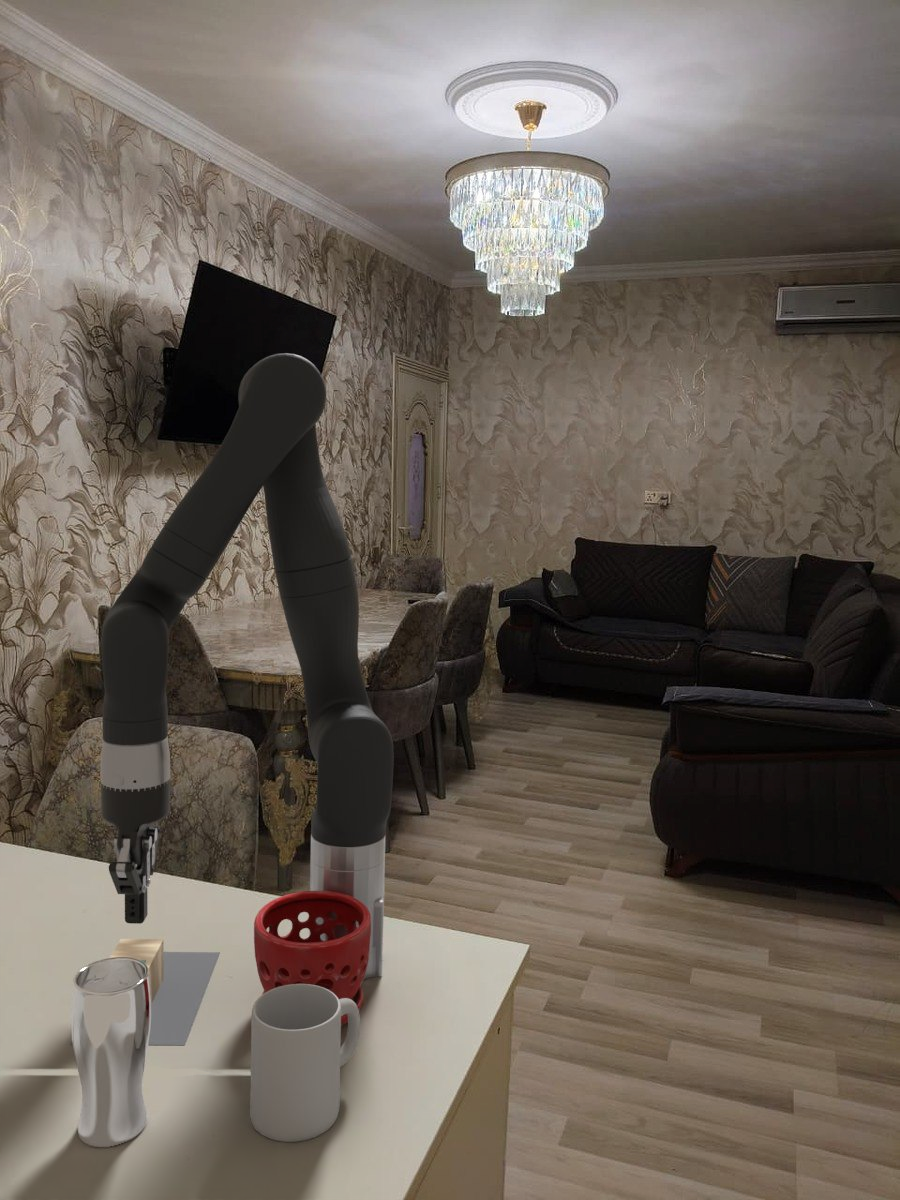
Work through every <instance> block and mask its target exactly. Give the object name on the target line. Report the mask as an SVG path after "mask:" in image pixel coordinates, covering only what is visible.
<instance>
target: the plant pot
mask: <svg viewBox="0 0 900 1200" xmlns="http://www.w3.org/2000/svg"><path fill="white" fill-rule="evenodd" d="M331 912H334V913H336V914H337V919H332V918H331V916H330V913H331ZM302 913H306V914H307V915H308V918H307V919H306V920H305V921H300V920H299V915H301V914H302ZM319 917H321V918H322V919H323V920H324V922H323V924H317V923H316V919H317V918H319ZM284 920H288V921H290V922H291V929H290V931H289V933H288V934H286V935H283V936H282V935H279V926H280V923H281V922H282V921H284ZM356 921H357V922H358V924H359V927H358V928H357V927H356ZM338 925H342V926H344V927H345V928H346V929H347V932H348V935H346V936H344V937H341V938H338V939H337V938H336V937H335V934H334V931H335V928H336V926H338ZM304 929H308V930H310V936H309V935H308V937H306V938H302V937H301V935H300V934H301V931H302V930H304ZM324 933H325V934H327V936H328V940H327V941H322V940H321V938H320V935H321V934H324ZM370 936H371V916H370V912H369V910H368V908H367V907H366V906H365V905H364V904H363V903H362V902H360V901H359V900H357V899H356V898H354V897H352V896H349V895H346V894H342V893H338V892H331V891H310V890H307V891H306V890H304V891H299V892H293V893H288V894H285V895H283V896H280V897H277V898H274V899H273V900H271V901H269V902H268V903H265V905H264V906H262V907H261V908H260V909H259V911H258V912H257V914H256V915H255V918H254V923H253V943H254V958H255V962H256V963H255V964H256V968H257V974H258V978H259V981H260V984H261V986H262V989H263V991H262V994H261V995H263V994H264V993H266V992H267V991H269V990H272V989H274V988H277V987H280V986H285V985H291V984H310V985H316V986H320V987H323V988H326V989H328V990H330V991H331V992H333V993H334V994H335V995H336V996H337V997H338V999H342V998H348V999H351V1000H353V1001H354V1002H355V1003H356V1005H357V1008H358V1010H359V1011H360V1010H361V1007H362V1005H363V1001H364V991H363V988H362V986H361V985H362V983H363V981H364V980H363V978H364V976H365V972H366V969H367V965H368V960H369V951H370ZM346 1023H347V1024H348V1016H347V1014H344V1015H343V1016H341V1027H342V1026H343V1025H346Z"/></svg>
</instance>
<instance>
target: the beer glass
mask: <svg viewBox="0 0 900 1200" xmlns="http://www.w3.org/2000/svg"><path fill="white" fill-rule="evenodd" d="M72 980H73V981H72V985H73V988H72V997H71V1012H70V1013H71V1014H70V1015H71V1017H70V1022H71V1023H70V1025H71V1041H72V1042H73V1045H72V1048H73V1053H74V1058H75V1063H76V1068H77V1072H78V1076H79V1081H80V1082H79V1083H80V1086H81V1108H80V1112H79V1119H78V1125H77V1133H78V1137H79V1139H80V1140H81V1141H82V1142H83V1143H85V1144H86V1145H87V1146H90V1147H95V1148H111V1147H110V1146H112V1147H115V1146H114V1145H117V1146H119V1145H118V1144H120V1145H122V1144H121V1143H123V1144H125V1143H124V1142H126V1143H128V1142H130V1141H131V1140H133V1139H135V1138H136V1137H137V1136H138V1135H139V1134H140V1133H141V1132H142V1131H143V1130H144V1128H145V1127H146V1123H147V1119H148V1117H147V1109H146V1108H147V1107H146V1104H145V1100H144V1094H143V1078H144V1070H145V1065H146V1059H147V1055H148V1051H149V1050H148V1048H149V1045H148V1044H149V1038H150V1030H151V994H150V983H149V969H148V966H147V965H146V964H145V963H144V962H142V961H140V960H137V959H133V958H127V957H115V958H110V957H108V958H104V959H100V960H96V961H93V962H90V963H88V964H87V965H84V966H83V967H82V968H80V969H78V971H77V972H76V973H75V975H74V977H73V979H72ZM129 1140H130V1141H129ZM127 1141H128V1142H127Z"/></svg>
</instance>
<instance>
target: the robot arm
mask: <svg viewBox="0 0 900 1200" xmlns="http://www.w3.org/2000/svg"><path fill="white" fill-rule="evenodd" d="M326 389H327V388H326V384H325V381H324V378H323V376H322V374H321V372H320V371H319V369H318V368H317V367H316V365H315V364H314V363H312V362H311V361H310V360H309V359H307V358H306V357H303V356H302V355H298V354H295V353H287V352H285V353H274V354H272V355H268V356H266V357H264V358H262V359H261V360H259V361H258V362H256V363H255V364H254V365H253V366H252V367H250V368H249V369H248V370H247V372H246V373H245V374H244V375H243V378H242V379H241V381H240V384H239V388H238V397H237V398H238V399H237V400H238V406H239V407H238V409H237V411H236V414H235V416H234V418H233V420H232V423H231V425H230V428H229V430H228V432H227V434H226V435H225V437H224V439H223V441H222V443H221V444H220V445H219V447H218V449H217V451H216V452H215V453H214V455H213V457H212V458H211V460H210V462H209V463H208V464H207V466H206V468H205V469H203V471H202V473H201V474H200V475H199V476H198V478H197V480H195V482H194V483H193V484H192V485H191V487H190V488H189V490H188V491H187V492H186V494H185V495H184V496H183V498H182V499H181V500H180V502H179V503H178V504H177V506H176V507H175V508H174V510H173V511H172V513H171V514H170V515H169V517H168V519H167V520H166V522H165V524H164V525H163V527H162V529H161V530H160V532H159V534H158V535H157V537H156V538H155V539H154V541H153V543H152V544H151V546H150V547H149V550H148V551H147V553H146V555H145V557H144V559H143V561H142V563H141V565H140V567H139V569H138V570H137V572H136V573H135V574H134V575H133V577H132V578H131V579H130V581H129V582H128V583H127V585H126V586H125V588H124V589H123V590H122V592H121V593H120V594H119V596H118V597H117V599H116V600H115V601H114V602H113V604H112V606H111V607H110V609H109V610H108V613H107V614H106V615H105V618H104V620H103V624H102V628H101V640H100V641H101V643H100V644H101V657H102V658H101V660H102V673H103V688H104V697H103V704H102V747H101V753H100V816H101V818H102V819H103V820H104V821H105V822H106V823H107V824H112V825H114V826H115V827H117V829H118V831H117V835H114V839H113V850H114V852H115V854H116V861H110V862H109V866H108V871H109V875H110V877H111V880H112V882H113V885H114V888H115V890H116V893H117V895H124V921H125V922H126V923H127V924H143V923H144V922H145V920H146V918H147V916H148V915H149V914H148V887H149V886H150V884H151V876H153V875H154V873H155V865H156V859H157V852H158V845H159V840H160V835H161V834H160V833H161V825H155V823H157V822H159V821H161V820H163V819H165V818H166V817H167V816H168V815H169V813H170V811H171V753H170V747H169V738H168V737H169V736H168V732H169V730H168V729H169V727H168V726H169V724H168V723H169V716H168V713H169V711H168V699H167V693H166V692H167V691H166V689H167V681H168V680H167V679H168V668H169V667H168V665H169V651H170V649H169V648H170V646H169V642H170V640H169V637H170V636H169V632H170V631H171V629H172V627H173V626H174V624H175V622H176V620H177V619H178V617H179V616H180V613H181V612H182V610H183V609H184V607H185V605H186V603H188V601H189V599H191V598H193V597H194V596H195V595H196V594H197V593H198V592H199V591H200V589H201V588H202V587H203V585H204V584H205V582H206V581H207V579H208V577H209V576H210V574H211V573H212V572H213V569H214V568H215V567H216V566H217V563H218V562H219V560H220V559H221V557H222V555H223V553H224V552H225V550H226V548H227V546H228V545H229V543H230V542H231V539H232V538H233V537H234V534H235V533H236V531H237V530H238V528H239V526H240V524H241V522H242V521H243V519H244V517H245V516H246V514H247V512H248V510H249V508H250V507H251V505H252V504H253V502H254V501H255V499H256V497H257V495H258V494H259V493H260V491H261V490H262V488H263V494H264V501H265V512H266V520H267V521H266V522H267V528H268V536H269V537H268V538H269V541H270V549H271V554H272V555H271V556H272V561H273V562H272V563H273V567H274V572H275V579H276V582H277V587H278V592H279V597H280V602H281V604H282V608H283V612H284V616H285V621H286V624H287V628H288V632H289V634H290V638H291V642H292V645H293V648H294V651H295V654H296V656H297V661H298V664H299V668H300V670H301V671H300V672H301V676H302V683H303V691H304V700H305V709H306V710H305V712H306V724H307V725H306V726H307V737H308V744H309V748H310V751H311V755H312V756H313V758H314V760H315V761H316V763H317V782H316V786H317V787H316V801H315V802H316V803H315V804H316V805H315V808H314V810H312V811H313V812H312V813H311V819H310V820H311V821H310V825H311V827H310V866H309V868H310V870H309V871H310V872H309V873H310V874H309V891H331V892H338V893H342V894H346V895H349V896H352V897H354V898H356V899H357V900H359V901H360V902H362V903H363V904H364V905H365V906H366V907H367V908H368V910H369V912H370V916H371V936H370V951H369V960H368V965H367V969H366V972H365V976H364V978H363V981H365V980H367V979H369V978H372V977H373V978H374V977H382V974H383V973H382V972H383V948H384V947H383V946H384V943H383V941H384V939H383V938H384V919H385V918H384V913H385V912H384V911H385V872H386V871H385V869H386V867H385V864H386V863H385V861H386V834H387V833H386V832H387V822H388V819H389V816H390V814H391V810H392V801H393V800H392V799H393V783H394V781H393V780H394V765H395V764H394V762H395V760H394V759H395V755H394V754H395V752H394V742H393V738H392V734H391V731H390V730H389V728H388V726H387V725H386V724H385V723H384V721H382V720H381V719H380V718H379V717H378V716H377V715H376V714H375V712H374V710H373V707H372V704H371V702H370V699H369V695H368V693H367V690H366V684H365V682H364V678H363V674H362V669H361V666H360V658H359V649H358V648H359V646H358V645H359V643H358V642H359V628H360V627H359V626H360V625H359V624H360V603H359V602H360V601H359V591H358V583H357V579H356V574H355V573H356V572H355V568H354V563H353V558H352V552H351V548H350V544H349V539H348V536H347V534H346V531H345V529H344V525H343V523H342V522H343V521H341V518H340V515H339V513H338V510H337V507H336V504H335V502H334V500H333V498H332V496H331V493H330V491H329V488H328V486H327V483H326V480H325V476H324V473H323V469H322V464H321V458H320V452H319V451H320V450H319V443H318V442H319V441H318V435H317V433H318V432H317V425H316V424H317V423H318V421H319V420H320V419H321V417H322V414H323V413H324V409H325V406H326V404H327V403H326V402H327V390H326ZM330 916H331V918H332V919H337V914H336V913H334V912H331V913H330ZM323 922H324V920H323V919H322V918H321V917H319V918H317V919H316V923H317V924H323ZM356 927H357V928H358V927H359V924H358V922H357V921H356ZM308 930H309V929H308ZM334 934H335V937H336V938H337V939H338V938H341V937H344V936H346V935H348V932H347V929H346V928H345V927H344V926H342V925H338V926H336V928H335V931H334ZM309 936H310V930H309V931H308V937H309ZM320 938H321V940H322V941H327V940H328V936H327V934H325V933H324V934H321V935H320Z"/></svg>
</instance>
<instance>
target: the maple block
mask: <svg viewBox="0 0 900 1200" xmlns="http://www.w3.org/2000/svg"><path fill="white" fill-rule="evenodd" d="M163 952H164V938H162V939H161V938H160V939H157V938H155V939H154V938H149V939H147V938H145V939H144V938H120V939H119V941H118V943H117V945H116V946H115V948H114V950H113V951H112V953H111V954H110V956H109V958H115V957H127V958H133V959H137V960H140V961H142V962H144V963H145V964H146V965H147V966H148V969H149V983H150V994H151V1004H152V1002H153V1000H154V998H155V996H156V994H157V991H158V989H159V987H160V985H161V983H162V981H163Z"/></svg>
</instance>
